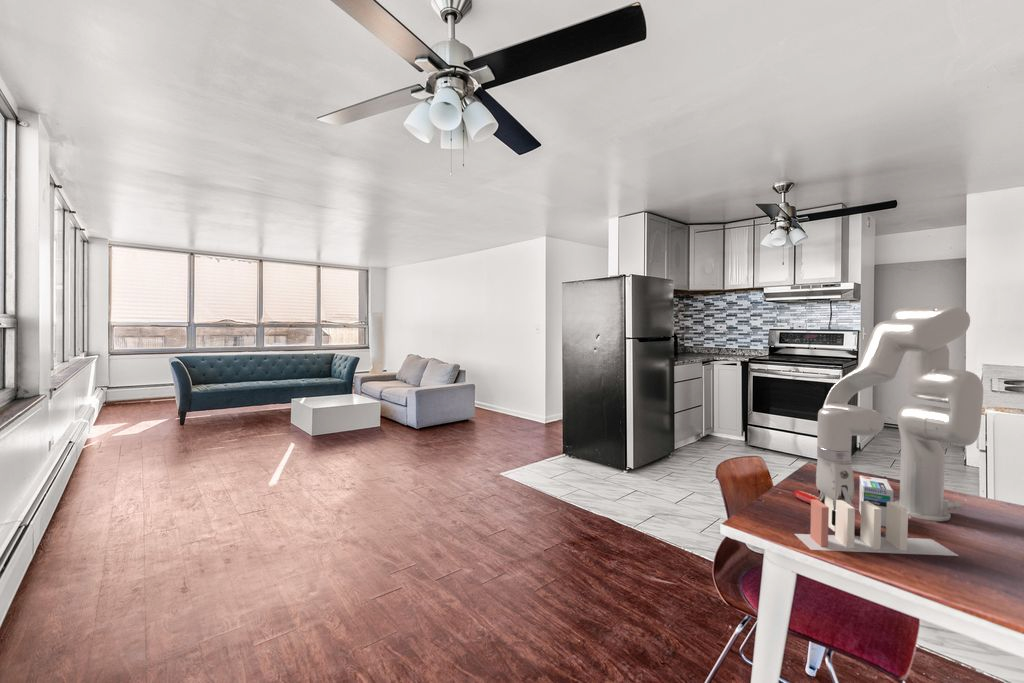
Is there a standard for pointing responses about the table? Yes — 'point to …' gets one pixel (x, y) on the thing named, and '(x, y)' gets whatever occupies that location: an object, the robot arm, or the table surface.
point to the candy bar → (805, 496)
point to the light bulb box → (876, 494)
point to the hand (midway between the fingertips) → (832, 520)
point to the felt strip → (885, 547)
